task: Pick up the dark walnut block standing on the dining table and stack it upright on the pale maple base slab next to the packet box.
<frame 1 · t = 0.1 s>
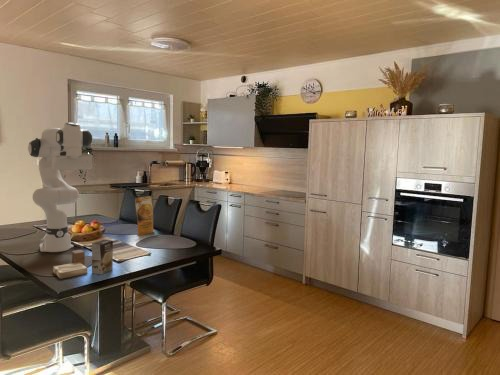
hand: (73, 177, 204), 48 cm above the table, fingers open, 8 cm apart
base slab: (70, 272, 193), on the table
pancake mix bag: (144, 233, 281), on the table
walnut block: (78, 265, 205), on the table
coffee box: (102, 271, 198), on the table
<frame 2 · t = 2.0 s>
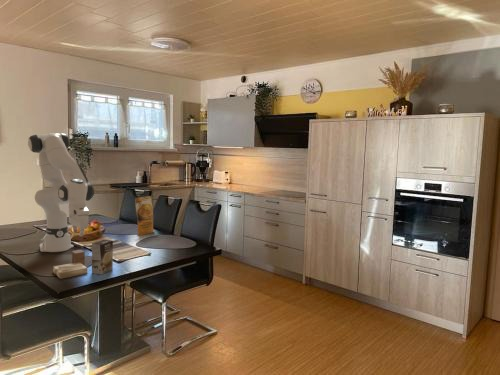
hand: (78, 234, 202), 18 cm above the table, fingers open, 8 cm apart
nothing on the table moved.
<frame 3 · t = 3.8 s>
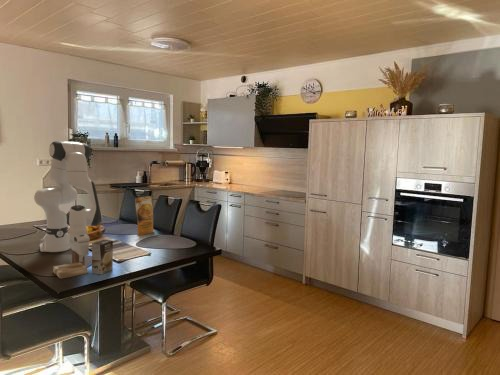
hand: (78, 260, 204), 3 cm above the table, fingers closed on walnut block, 5 cm apart
walnut block: (78, 265, 205), on the table, touching gripper
everything else where it was.
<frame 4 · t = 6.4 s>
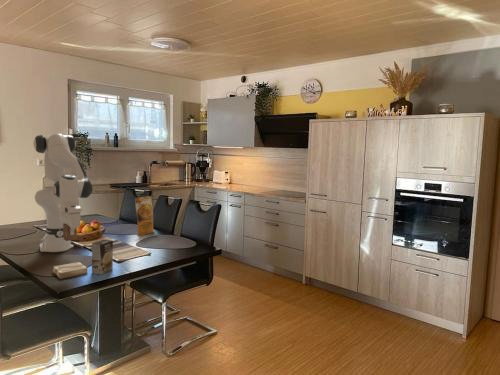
hand: (69, 233, 191), 21 cm above the table, fingers closed on walnut block, 5 cm apart
walnut block: (70, 239, 191), point 18 cm above the table, touching gripper
everything else where it was.
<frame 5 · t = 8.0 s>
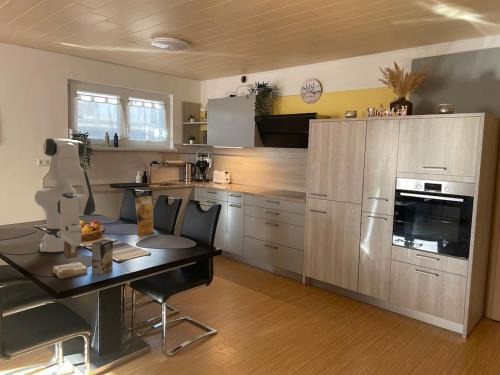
hand: (70, 251, 192), 12 cm above the table, fingers closed on walnut block, 5 cm apart
walnut block: (70, 256, 192), point 9 cm above the table, touching gripper
everything else where it was.
when the fingers open (7 cm above the table, at t = 9.3 s): walnut block stays where it is, resting on base slab.
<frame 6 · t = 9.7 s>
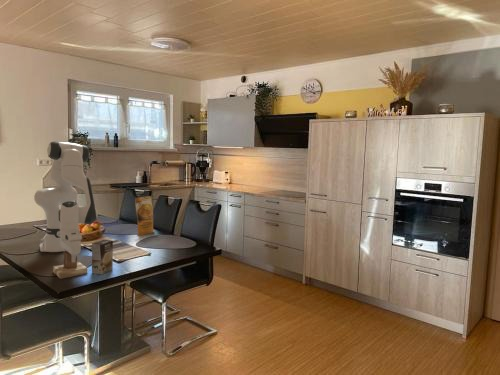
hand: (70, 259, 193), 7 cm above the table, fingers open, 8 cm apart
walnut block: (70, 266, 193), point 3 cm above the table, touching base slab
everything else where it was.
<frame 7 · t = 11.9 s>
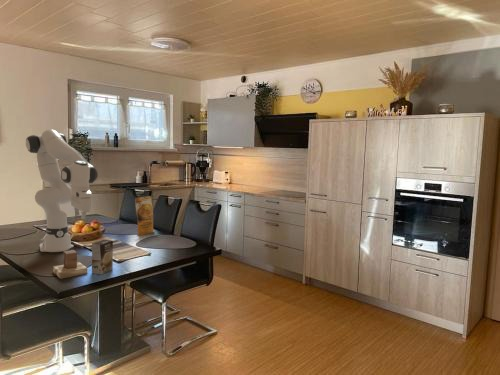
hand: (80, 217, 198), 28 cm above the table, fingers open, 8 cm apart
nothing on the table moved.
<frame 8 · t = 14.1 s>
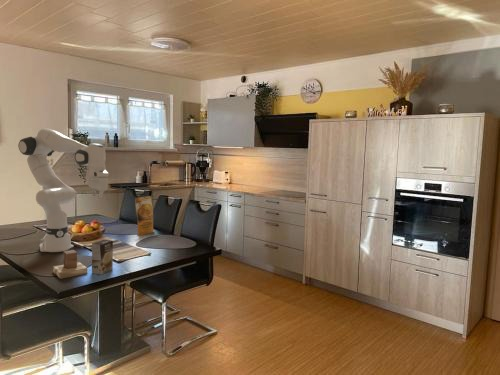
hand: (97, 196, 211), 37 cm above the table, fingers open, 8 cm apart
nothing on the table moved.
at the end: walnut block 0.1 cm from the base slab (horizontally); walnut block inside the target area on the base slab (0.1 cm from its centre), point 3.1 cm above the base slab's base; walnut block tilted 0° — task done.
